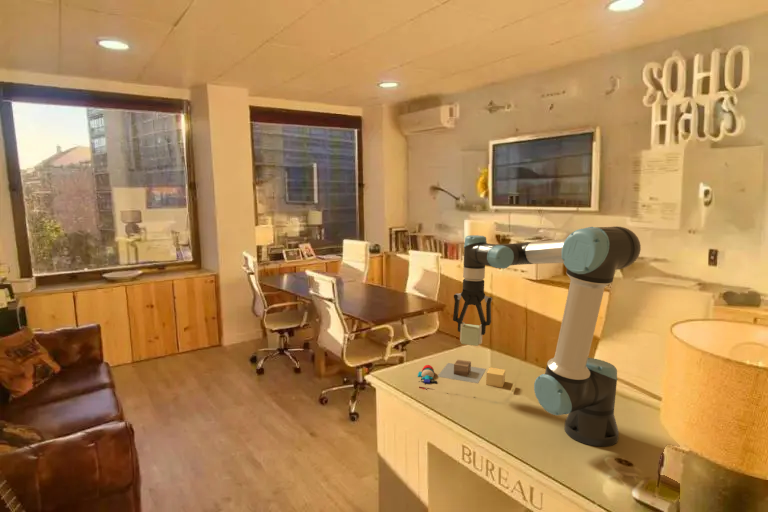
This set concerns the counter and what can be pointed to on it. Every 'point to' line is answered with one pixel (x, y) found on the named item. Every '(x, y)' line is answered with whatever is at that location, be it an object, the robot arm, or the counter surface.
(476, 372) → the baseplate
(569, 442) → the counter surface
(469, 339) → the sage brick
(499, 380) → the ochre brick
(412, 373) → the counter surface
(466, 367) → the brown brick
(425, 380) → the toy figure
